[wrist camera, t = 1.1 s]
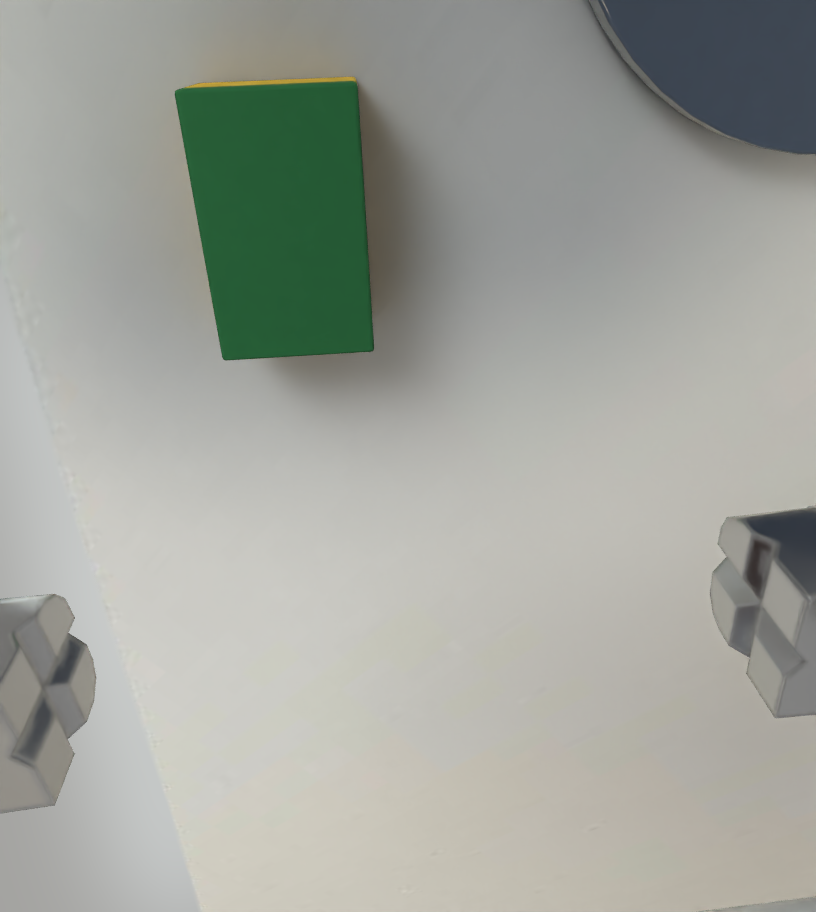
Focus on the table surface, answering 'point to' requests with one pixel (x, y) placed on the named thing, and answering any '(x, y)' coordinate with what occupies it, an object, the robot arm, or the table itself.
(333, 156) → the sponge
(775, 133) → the plate
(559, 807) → the table surface
